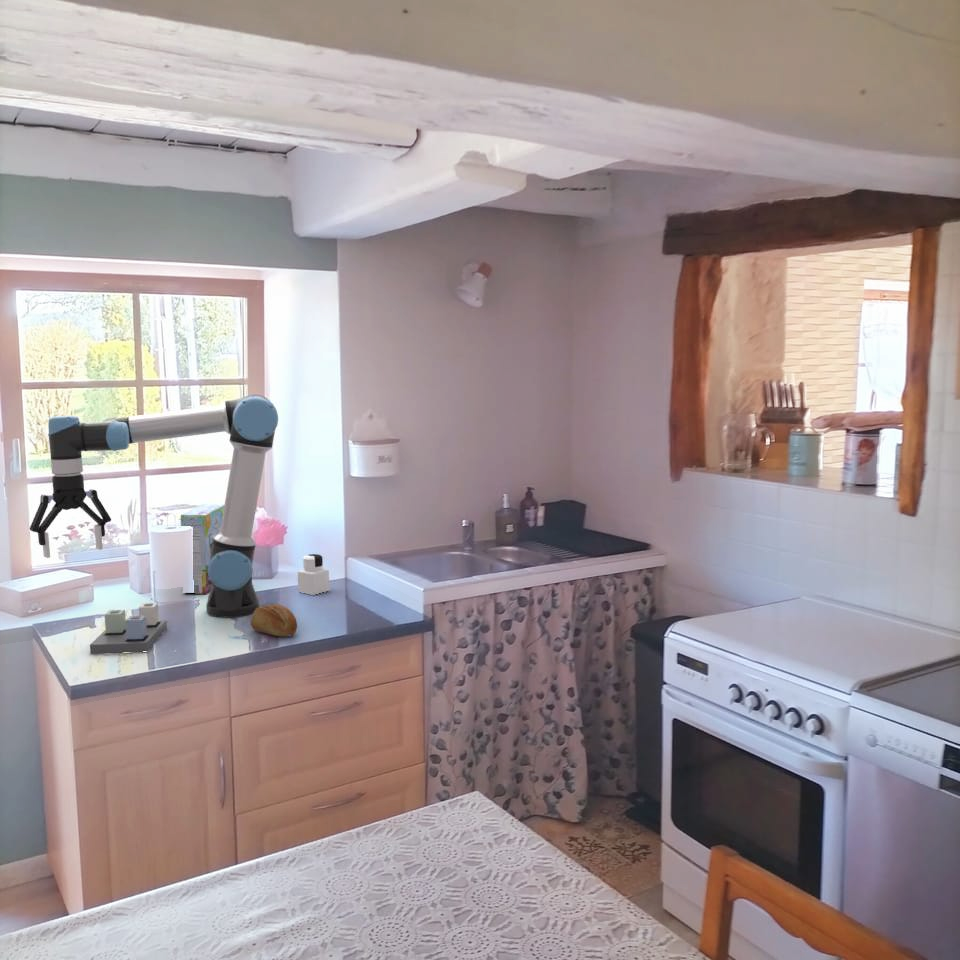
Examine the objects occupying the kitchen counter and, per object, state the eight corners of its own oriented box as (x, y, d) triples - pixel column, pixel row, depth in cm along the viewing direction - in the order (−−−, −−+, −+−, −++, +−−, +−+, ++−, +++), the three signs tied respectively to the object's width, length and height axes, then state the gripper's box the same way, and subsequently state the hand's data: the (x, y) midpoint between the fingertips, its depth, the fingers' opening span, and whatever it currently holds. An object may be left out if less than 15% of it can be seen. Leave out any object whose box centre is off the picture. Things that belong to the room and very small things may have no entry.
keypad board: (166, 628, 250) (166, 620, 250) (147, 652, 231) (146, 642, 230) (114, 630, 249) (114, 621, 249) (90, 654, 229) (89, 644, 229)
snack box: (208, 594, 286) (205, 514, 282) (181, 594, 286) (177, 514, 282) (228, 578, 307) (225, 503, 304) (203, 578, 308) (199, 503, 304)
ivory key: (158, 620, 248) (157, 602, 247) (154, 625, 244) (154, 606, 243) (143, 621, 247) (142, 602, 247) (139, 625, 243) (138, 606, 243)
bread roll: (279, 643, 238) (278, 613, 237) (241, 633, 246) (240, 605, 245) (306, 634, 246) (305, 605, 245) (268, 624, 254) (267, 597, 253)
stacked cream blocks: (314, 588, 294) (313, 551, 292) (329, 591, 290) (328, 554, 288) (297, 592, 288) (296, 555, 287) (313, 596, 284) (312, 558, 282)
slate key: (146, 634, 236) (145, 614, 235) (142, 638, 232) (141, 619, 231) (131, 634, 236) (130, 615, 235) (126, 639, 232) (125, 619, 231)
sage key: (126, 628, 241) (124, 609, 240) (121, 632, 237) (120, 613, 237) (110, 628, 241) (109, 609, 240) (105, 633, 237) (104, 613, 236)
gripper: (109, 468, 251) (114, 543, 253) (12, 477, 234) (19, 558, 237) (120, 470, 245) (125, 547, 248) (21, 480, 228) (28, 562, 231)
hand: (73, 552), depth 242 cm, fingers open, 13 cm apart
